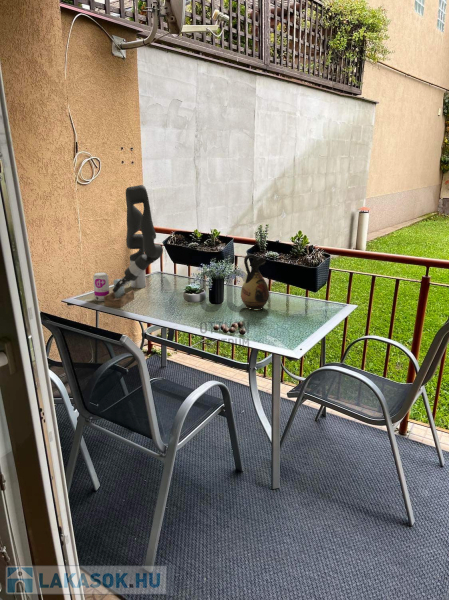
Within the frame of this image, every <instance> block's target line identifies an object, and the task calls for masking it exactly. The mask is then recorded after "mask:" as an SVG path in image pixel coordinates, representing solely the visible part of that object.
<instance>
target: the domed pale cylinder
mask: <svg viewBox="0 0 449 600" xmlns="http://www.w3.org/2000/svg"><path fill="white" fill-rule="evenodd" d="M121 279H122V278H115V279H113V288H114V287H115V285H116V284H117V283H118V282H119V280H121ZM125 293H126V292H125V286H122V287H120V289H118V290H117V291H116V292H115V293H114V296H115V298H116V299H119V298H120V297H122V296H123V295H125Z"/></svg>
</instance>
